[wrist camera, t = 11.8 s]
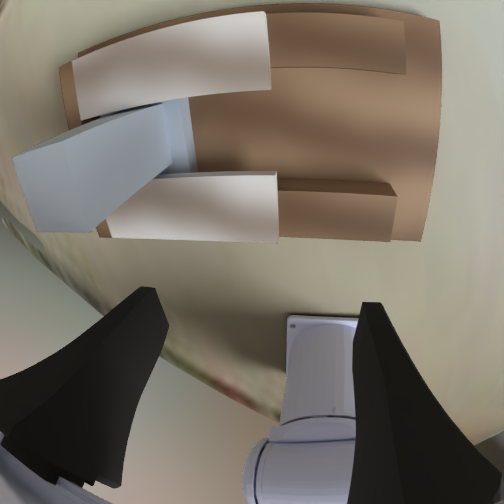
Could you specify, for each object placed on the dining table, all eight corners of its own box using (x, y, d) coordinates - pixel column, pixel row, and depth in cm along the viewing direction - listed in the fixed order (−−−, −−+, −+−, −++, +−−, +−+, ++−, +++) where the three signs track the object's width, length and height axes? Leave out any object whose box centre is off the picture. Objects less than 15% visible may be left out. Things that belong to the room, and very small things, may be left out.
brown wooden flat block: (416, 233, 18) (432, 265, 15) (122, 224, 22) (97, 249, 19) (432, 22, 10) (459, 14, 7) (86, 52, 14) (51, 56, 12)
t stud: (198, 171, 17) (117, 256, 10) (124, 176, 19) (33, 249, 11) (186, 81, 14) (77, 106, 7) (108, 99, 15) (-4, 140, 8)
